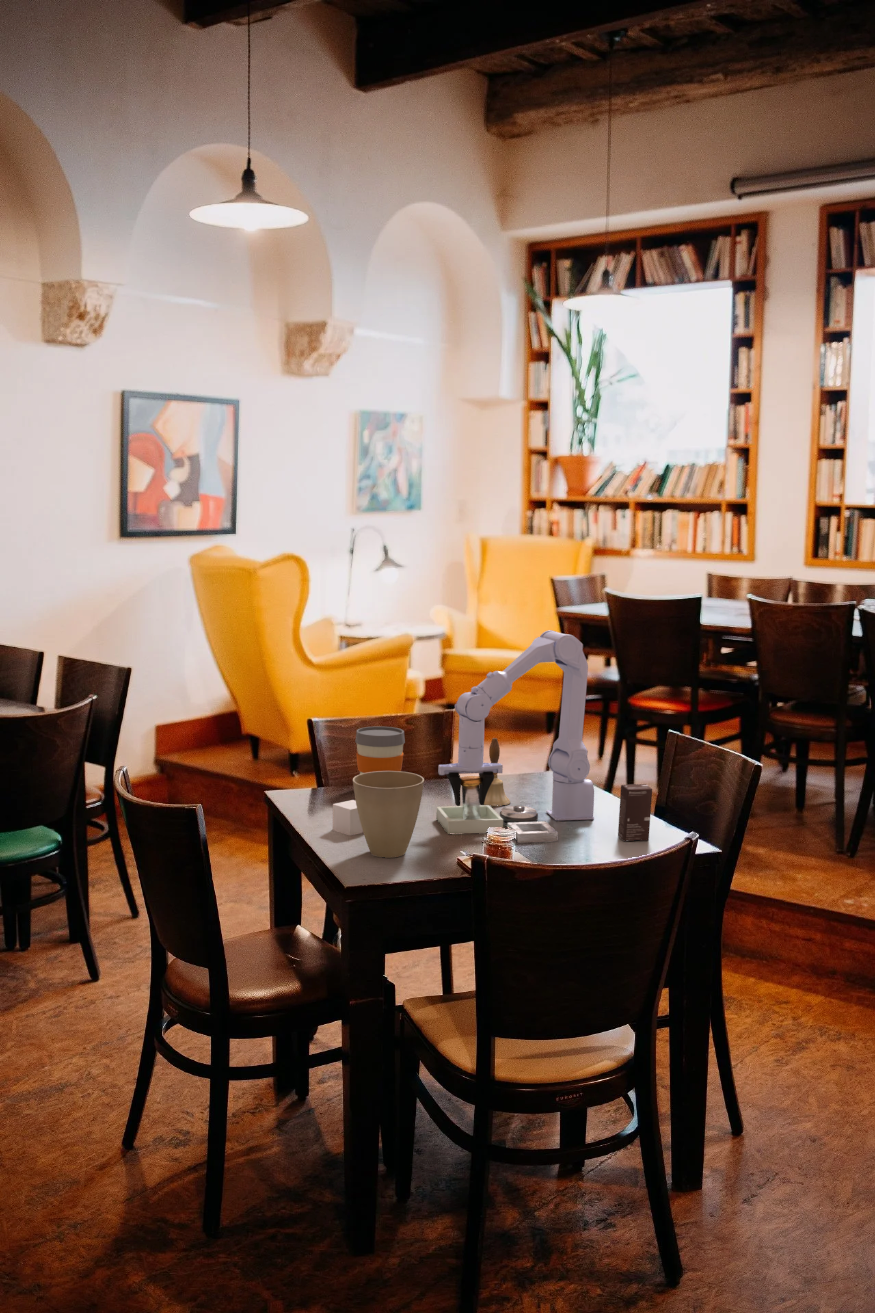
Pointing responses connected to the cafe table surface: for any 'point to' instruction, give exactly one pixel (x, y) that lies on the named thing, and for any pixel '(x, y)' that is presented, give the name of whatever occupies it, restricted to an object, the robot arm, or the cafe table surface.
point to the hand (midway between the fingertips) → (469, 804)
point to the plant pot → (388, 809)
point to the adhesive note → (346, 818)
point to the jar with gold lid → (471, 797)
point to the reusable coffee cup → (379, 749)
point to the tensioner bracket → (527, 825)
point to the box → (634, 812)
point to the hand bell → (495, 780)
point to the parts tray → (456, 824)
